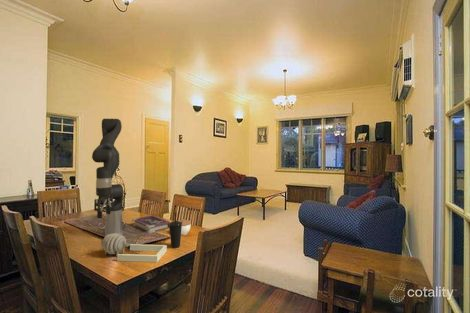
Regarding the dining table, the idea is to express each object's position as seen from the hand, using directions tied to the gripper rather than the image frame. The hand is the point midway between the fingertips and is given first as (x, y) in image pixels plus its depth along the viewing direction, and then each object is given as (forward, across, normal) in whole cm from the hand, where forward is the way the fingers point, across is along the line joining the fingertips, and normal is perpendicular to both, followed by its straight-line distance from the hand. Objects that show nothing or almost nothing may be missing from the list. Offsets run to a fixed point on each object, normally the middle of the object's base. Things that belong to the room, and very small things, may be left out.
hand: (104, 216), depth 137 cm
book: (+20, -46, +8) cm, 51 cm away
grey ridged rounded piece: (+20, +3, +7) cm, 21 cm away
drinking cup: (+20, -9, +36) cm, 43 cm away
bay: (+20, +4, +22) cm, 30 cm away
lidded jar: (+20, -32, +35) cm, 51 cm away
